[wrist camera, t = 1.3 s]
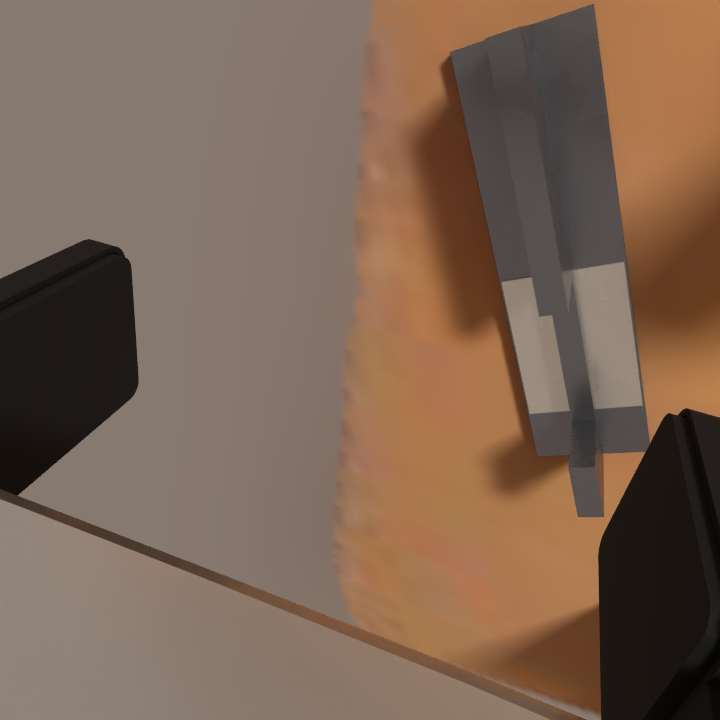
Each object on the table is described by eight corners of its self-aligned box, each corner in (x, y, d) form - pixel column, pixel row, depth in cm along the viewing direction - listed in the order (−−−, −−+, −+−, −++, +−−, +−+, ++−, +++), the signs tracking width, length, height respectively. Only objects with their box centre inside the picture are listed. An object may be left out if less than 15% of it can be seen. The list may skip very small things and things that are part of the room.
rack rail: (593, 4, 25) (592, 2, 20) (649, 442, 34) (658, 516, 29) (453, 51, 28) (421, 60, 23) (538, 448, 36) (528, 517, 31)
